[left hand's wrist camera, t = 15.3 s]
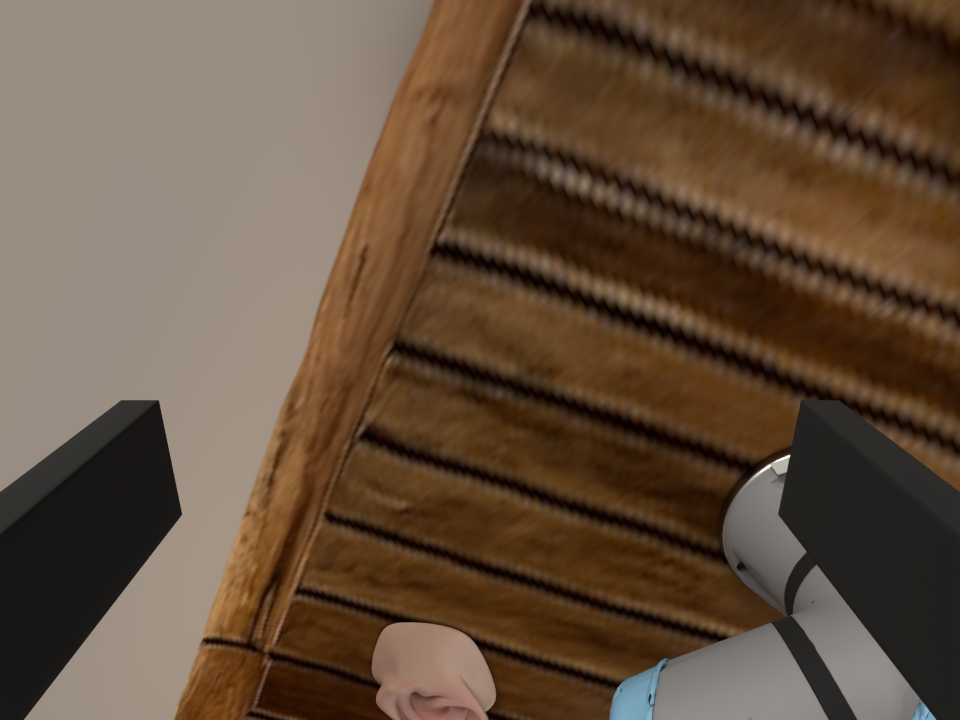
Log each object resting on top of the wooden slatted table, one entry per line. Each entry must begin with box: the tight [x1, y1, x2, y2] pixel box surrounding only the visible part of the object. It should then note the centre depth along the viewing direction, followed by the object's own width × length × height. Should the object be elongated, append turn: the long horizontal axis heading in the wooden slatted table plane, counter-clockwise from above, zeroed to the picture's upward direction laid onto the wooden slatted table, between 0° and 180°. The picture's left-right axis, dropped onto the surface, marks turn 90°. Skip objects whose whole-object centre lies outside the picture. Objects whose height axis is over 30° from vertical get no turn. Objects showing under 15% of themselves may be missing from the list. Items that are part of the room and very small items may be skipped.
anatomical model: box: [372, 622, 496, 720], centre depth 58 cm, size 13×4×12 cm
